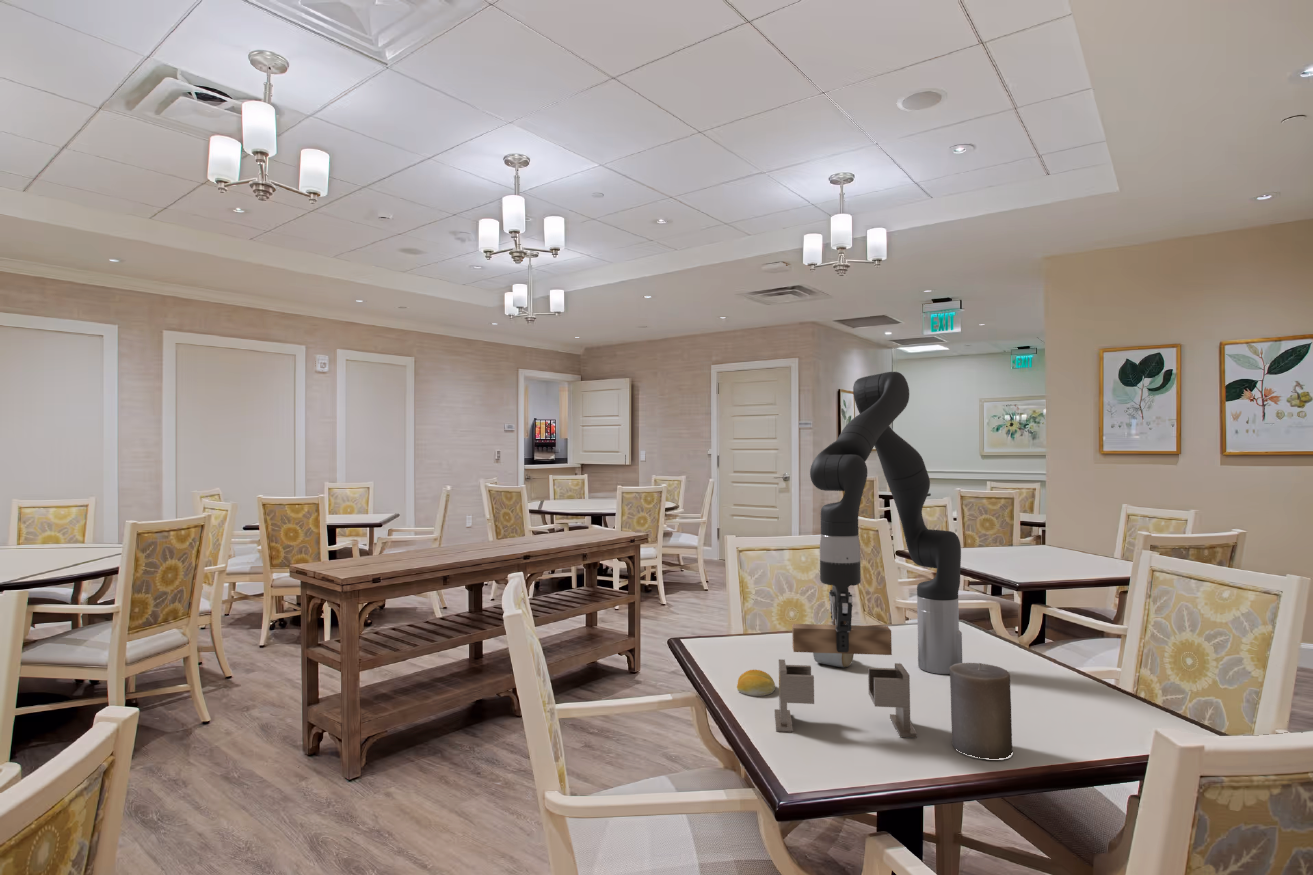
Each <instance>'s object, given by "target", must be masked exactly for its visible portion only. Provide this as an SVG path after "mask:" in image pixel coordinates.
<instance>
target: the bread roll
mask: <svg viewBox="0 0 1313 875" xmlns="http://www.w3.org/2000/svg"><path fill="white" fill-rule="evenodd" d="M736 688H737V691H738V692H739V693H741V694H743V695H747V696H751V697H762V696H763V697H764V696H768V695H771V694H773V693H774V691H775V689H776V684H775V681H774V679H773V677H772V676H771V675H770V674H769V673H767V672H766V671H764V670H760V669H749V670H747V671H745V672H743V673H742V674H741V675H740V676H739V677H738V680H737V684H736Z"/></svg>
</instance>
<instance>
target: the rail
mask: <svg viewBox="0 0 1313 875" xmlns="http://www.w3.org/2000/svg"><path fill="white" fill-rule="evenodd" d="M791 625H792V626H791V627H792V628H791V629H792V632H791V634H792V649H793V653H810V654H811V653H812V654H813V653H841V654H854V655H877V656H878V655H879V656H880V655H881V656H892V655H893V654H892V652H893V651H892V650H893V649H892V645H893V644H892V630H891V628H890V627H889V626H887V625H852V624H851V628H852V629H851V631H850V632H849V651H848V652H838V651H837V649H836V630H835V627H836V625H833V624H818V623H817V624H814V623H813V624H812V623H809V624H808V623H792V624H791Z"/></svg>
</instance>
